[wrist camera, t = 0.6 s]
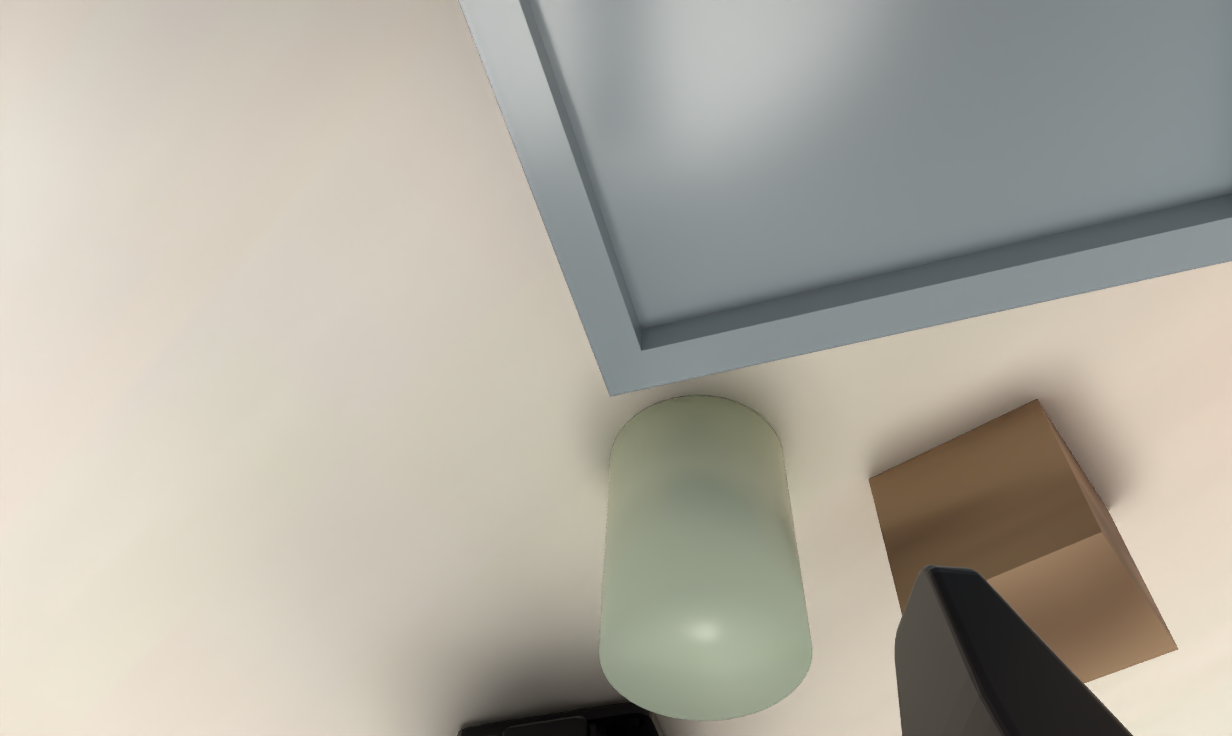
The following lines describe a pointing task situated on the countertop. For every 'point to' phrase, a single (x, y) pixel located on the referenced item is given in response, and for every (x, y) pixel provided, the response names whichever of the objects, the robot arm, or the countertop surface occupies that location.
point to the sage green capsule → (701, 564)
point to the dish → (855, 162)
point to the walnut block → (1024, 539)
